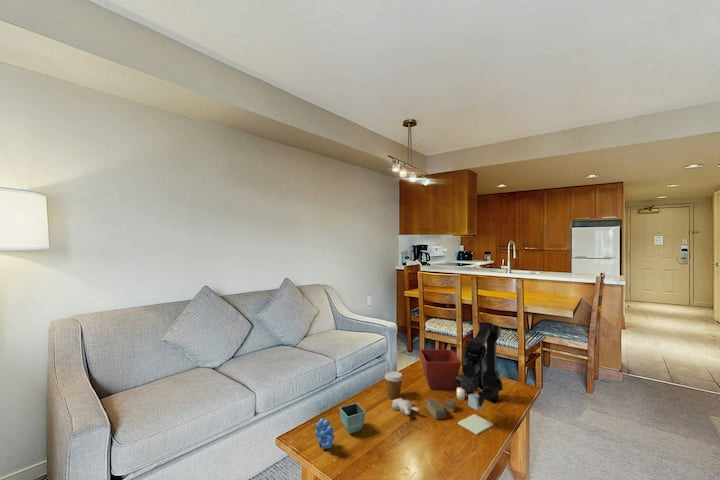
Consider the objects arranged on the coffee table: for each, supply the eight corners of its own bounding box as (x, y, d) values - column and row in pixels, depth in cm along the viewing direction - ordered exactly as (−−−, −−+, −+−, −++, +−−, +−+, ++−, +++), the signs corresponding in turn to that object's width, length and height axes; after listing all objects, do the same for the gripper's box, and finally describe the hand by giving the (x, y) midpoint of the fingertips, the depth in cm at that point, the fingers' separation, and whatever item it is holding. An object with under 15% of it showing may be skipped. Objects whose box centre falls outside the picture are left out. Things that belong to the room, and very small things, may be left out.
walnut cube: (447, 406, 162) (447, 398, 162) (455, 408, 160) (455, 400, 160) (444, 410, 159) (444, 401, 159) (452, 412, 157) (453, 404, 157)
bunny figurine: (402, 394, 166) (421, 403, 153) (403, 404, 166) (422, 415, 153) (387, 398, 162) (405, 408, 149) (388, 409, 162) (406, 420, 148)
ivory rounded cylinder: (459, 395, 173) (459, 386, 173) (466, 399, 170) (466, 389, 170) (454, 398, 171) (455, 388, 171) (461, 401, 167) (461, 391, 167)
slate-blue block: (474, 402, 150) (474, 392, 150) (483, 407, 146) (483, 396, 146) (468, 405, 147) (468, 394, 147) (476, 410, 143) (476, 398, 143)
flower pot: (347, 438, 136) (347, 417, 136) (338, 427, 144) (339, 407, 144) (365, 432, 140) (366, 411, 140) (356, 422, 148) (356, 402, 148)
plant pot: (461, 393, 176) (461, 362, 176) (425, 392, 176) (426, 361, 176) (451, 377, 195) (451, 349, 195) (419, 377, 196) (419, 349, 195)
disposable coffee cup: (403, 401, 166) (403, 378, 166) (384, 401, 167) (385, 378, 167) (401, 392, 176) (401, 370, 176) (383, 392, 176) (384, 370, 176)
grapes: (342, 451, 128) (342, 420, 128) (328, 458, 124) (328, 427, 123) (325, 437, 137) (325, 408, 137) (311, 443, 132) (311, 414, 132)
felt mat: (474, 415, 154) (474, 414, 154) (493, 425, 146) (493, 424, 146) (457, 423, 147) (457, 422, 147) (476, 434, 139) (476, 433, 139)
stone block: (436, 421, 149) (436, 410, 149) (424, 408, 160) (424, 398, 160) (447, 419, 151) (447, 408, 151) (434, 406, 162) (434, 396, 162)
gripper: (447, 366, 149) (447, 400, 150) (483, 382, 134) (483, 419, 134) (463, 361, 156) (462, 393, 156) (499, 375, 140) (498, 411, 141)
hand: (475, 404), depth 147 cm, fingers closed on slate-blue block, 4 cm apart
